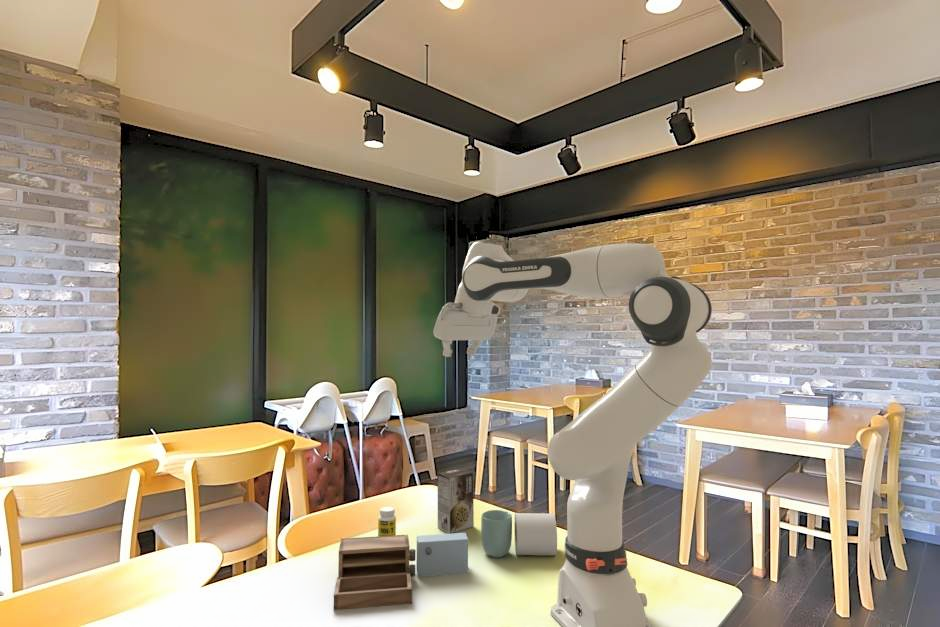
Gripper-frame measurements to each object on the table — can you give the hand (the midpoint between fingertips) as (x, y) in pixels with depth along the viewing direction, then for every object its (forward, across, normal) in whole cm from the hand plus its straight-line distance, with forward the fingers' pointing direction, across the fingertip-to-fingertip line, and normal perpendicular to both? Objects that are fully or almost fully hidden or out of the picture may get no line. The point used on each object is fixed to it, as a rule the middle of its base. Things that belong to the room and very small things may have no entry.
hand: (458, 355), depth 131 cm
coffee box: (+54, +16, -3) cm, 56 cm away
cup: (+47, +8, -22) cm, 53 cm away
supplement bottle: (+56, -4, +6) cm, 57 cm away
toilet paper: (+45, +15, -29) cm, 56 cm away
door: (+48, -8, -18) cm, 52 cm away
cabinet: (+50, -22, -11) cm, 56 cm away
